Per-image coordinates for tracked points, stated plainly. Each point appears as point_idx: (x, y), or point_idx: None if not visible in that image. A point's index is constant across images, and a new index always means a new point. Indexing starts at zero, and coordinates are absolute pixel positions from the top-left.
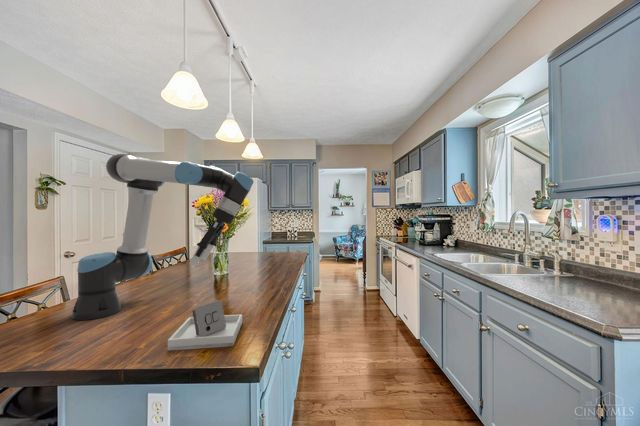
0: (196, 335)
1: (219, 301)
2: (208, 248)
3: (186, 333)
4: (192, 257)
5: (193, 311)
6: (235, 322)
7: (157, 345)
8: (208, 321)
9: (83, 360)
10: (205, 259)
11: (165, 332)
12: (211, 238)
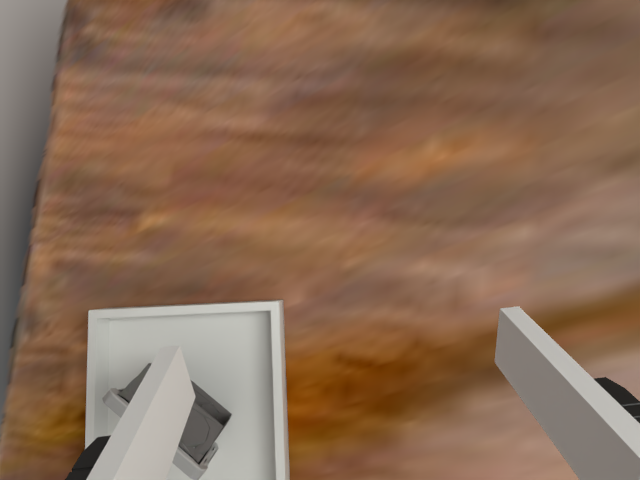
0: None
1: (187, 474)
2: (580, 446)
3: (190, 326)
4: (140, 389)
5: (143, 369)
6: (265, 473)
7: (146, 262)
8: None
9: (90, 120)
10: (501, 369)
11: (237, 243)
12: None
